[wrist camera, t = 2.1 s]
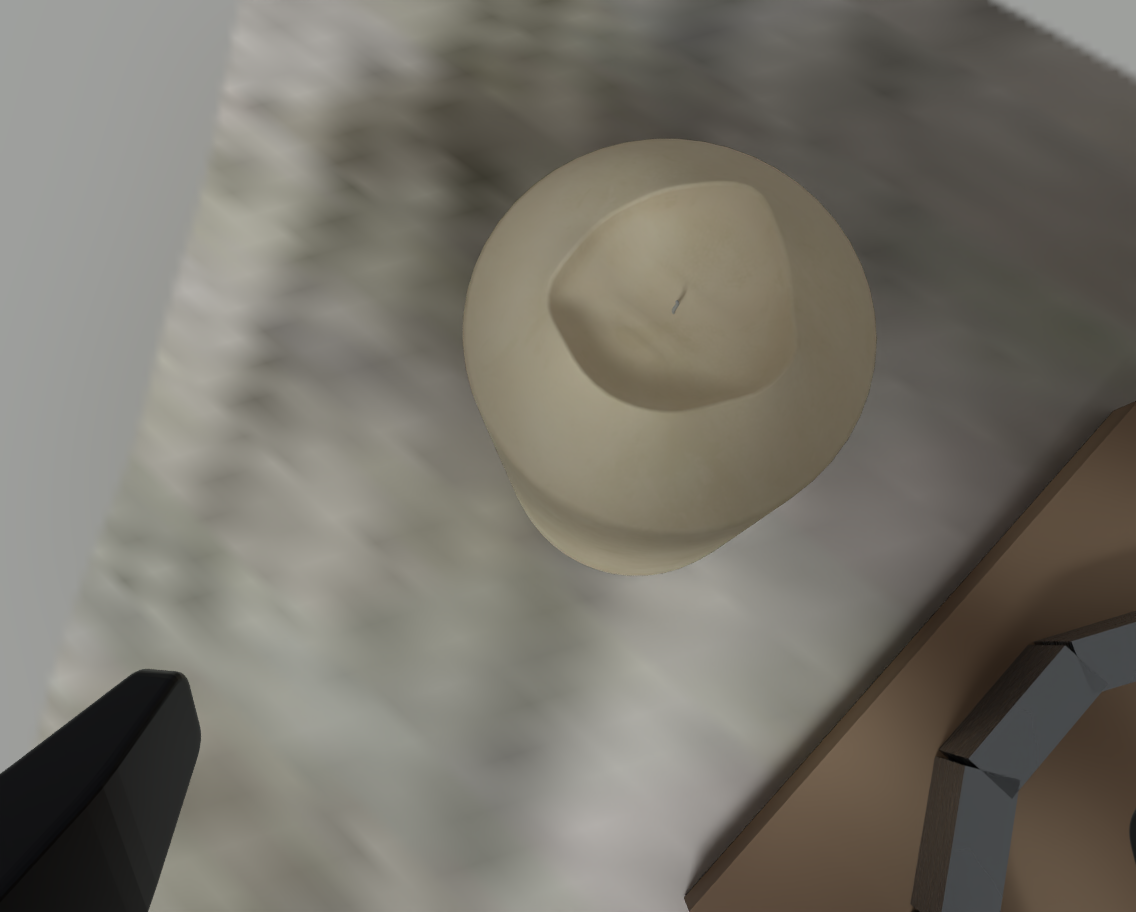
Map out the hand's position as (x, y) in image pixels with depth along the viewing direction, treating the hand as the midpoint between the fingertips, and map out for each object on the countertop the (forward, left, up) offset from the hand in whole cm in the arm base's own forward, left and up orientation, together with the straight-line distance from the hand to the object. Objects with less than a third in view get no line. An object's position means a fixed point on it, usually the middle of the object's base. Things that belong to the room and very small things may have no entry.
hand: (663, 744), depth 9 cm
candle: (+4, +3, -12) cm, 13 cm away
